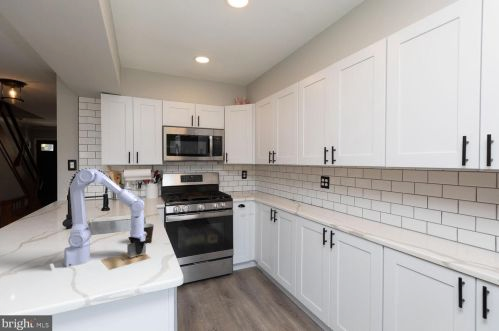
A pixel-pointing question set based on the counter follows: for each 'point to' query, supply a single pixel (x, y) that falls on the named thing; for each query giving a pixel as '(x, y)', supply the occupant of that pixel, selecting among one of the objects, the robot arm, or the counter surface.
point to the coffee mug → (148, 232)
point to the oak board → (123, 260)
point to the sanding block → (134, 250)
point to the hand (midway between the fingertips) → (137, 252)
